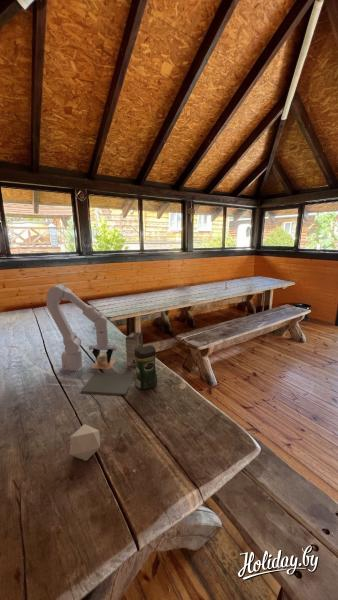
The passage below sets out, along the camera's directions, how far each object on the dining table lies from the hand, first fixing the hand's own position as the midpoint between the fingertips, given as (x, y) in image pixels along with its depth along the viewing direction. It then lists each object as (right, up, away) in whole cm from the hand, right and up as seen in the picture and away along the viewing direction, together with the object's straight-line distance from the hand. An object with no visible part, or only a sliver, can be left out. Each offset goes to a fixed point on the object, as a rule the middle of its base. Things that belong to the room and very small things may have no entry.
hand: (103, 362), depth 130 cm
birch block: (0, -1, 0) cm, 1 cm away
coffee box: (+16, -1, +3) cm, 17 cm away
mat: (+7, -6, -17) cm, 19 cm away
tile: (0, -2, 0) cm, 2 cm away
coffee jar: (+24, -6, -18) cm, 31 cm away
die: (+9, -14, -54) cm, 57 cm away
